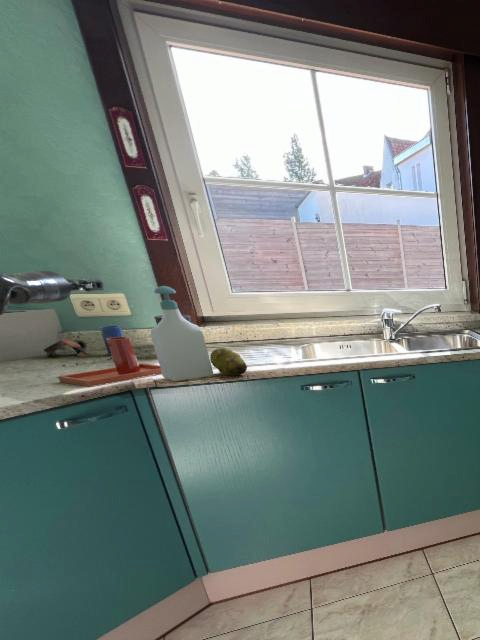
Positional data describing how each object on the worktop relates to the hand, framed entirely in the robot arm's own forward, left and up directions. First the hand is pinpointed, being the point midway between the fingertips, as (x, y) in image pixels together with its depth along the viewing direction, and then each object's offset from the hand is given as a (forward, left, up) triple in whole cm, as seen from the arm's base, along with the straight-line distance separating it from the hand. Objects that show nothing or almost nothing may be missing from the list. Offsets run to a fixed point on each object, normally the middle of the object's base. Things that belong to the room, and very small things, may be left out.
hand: (81, 283), depth 138 cm
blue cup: (+22, +36, -28) cm, 50 cm away
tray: (+4, +5, -28) cm, 29 cm away
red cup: (+7, +5, -27) cm, 29 cm away
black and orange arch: (+14, +47, -28) cm, 56 cm away
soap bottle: (+13, -12, -28) cm, 33 cm away
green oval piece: (+21, -20, -28) cm, 40 cm away
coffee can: (+36, +25, -28) cm, 52 cm away
